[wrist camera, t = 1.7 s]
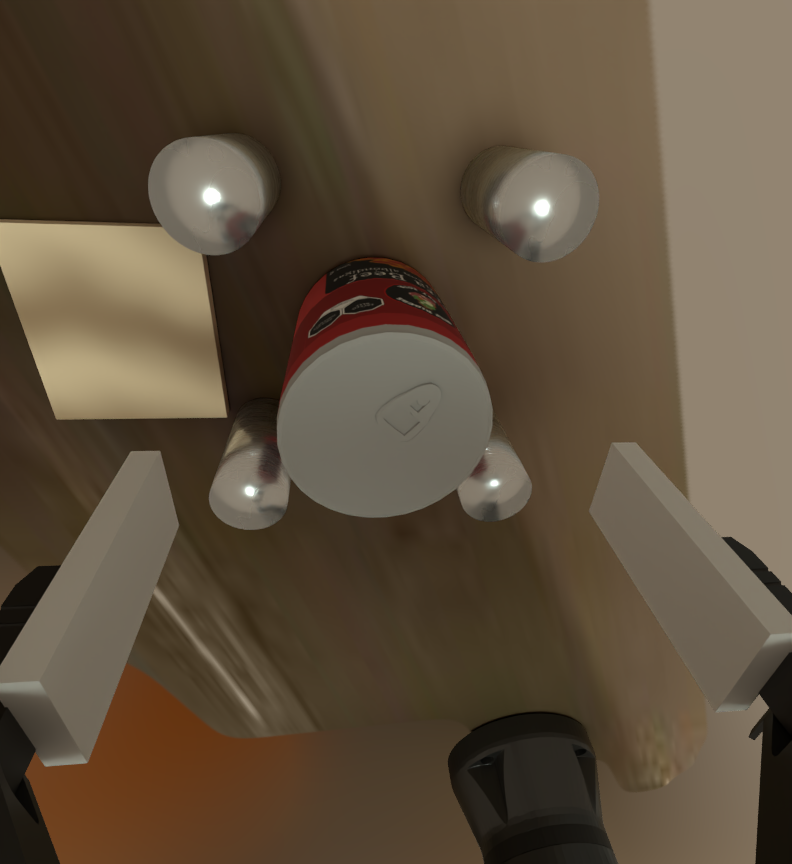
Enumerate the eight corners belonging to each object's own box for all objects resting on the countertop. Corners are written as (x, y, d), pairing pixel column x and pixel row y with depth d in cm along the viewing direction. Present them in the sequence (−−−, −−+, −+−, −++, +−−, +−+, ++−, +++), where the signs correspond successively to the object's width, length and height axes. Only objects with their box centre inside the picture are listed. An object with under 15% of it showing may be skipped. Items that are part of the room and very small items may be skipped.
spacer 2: (299, 449, 31) (290, 528, 25) (239, 450, 30) (215, 531, 24) (295, 397, 29) (284, 469, 23) (231, 398, 28) (203, 471, 22)
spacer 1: (283, 222, 24) (265, 256, 18) (205, 220, 23) (160, 254, 17) (277, 134, 22) (255, 140, 16) (192, 130, 21) (137, 134, 16)
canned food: (468, 294, 27) (538, 388, 17) (396, 412, 30) (421, 544, 21) (337, 222, 24) (337, 286, 15) (274, 359, 27) (241, 482, 18)
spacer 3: (527, 229, 25) (585, 263, 19) (456, 228, 25) (493, 261, 19) (541, 147, 23) (610, 156, 17) (465, 143, 23) (509, 151, 17)
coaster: (229, 410, 29) (227, 417, 28) (63, 412, 28) (56, 419, 27) (201, 224, 23) (197, 228, 23) (-5, 219, 23) (-16, 222, 22)
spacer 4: (490, 446, 32) (524, 520, 26) (434, 447, 31) (456, 522, 26) (498, 396, 30) (538, 463, 24) (439, 396, 30) (464, 465, 24)
